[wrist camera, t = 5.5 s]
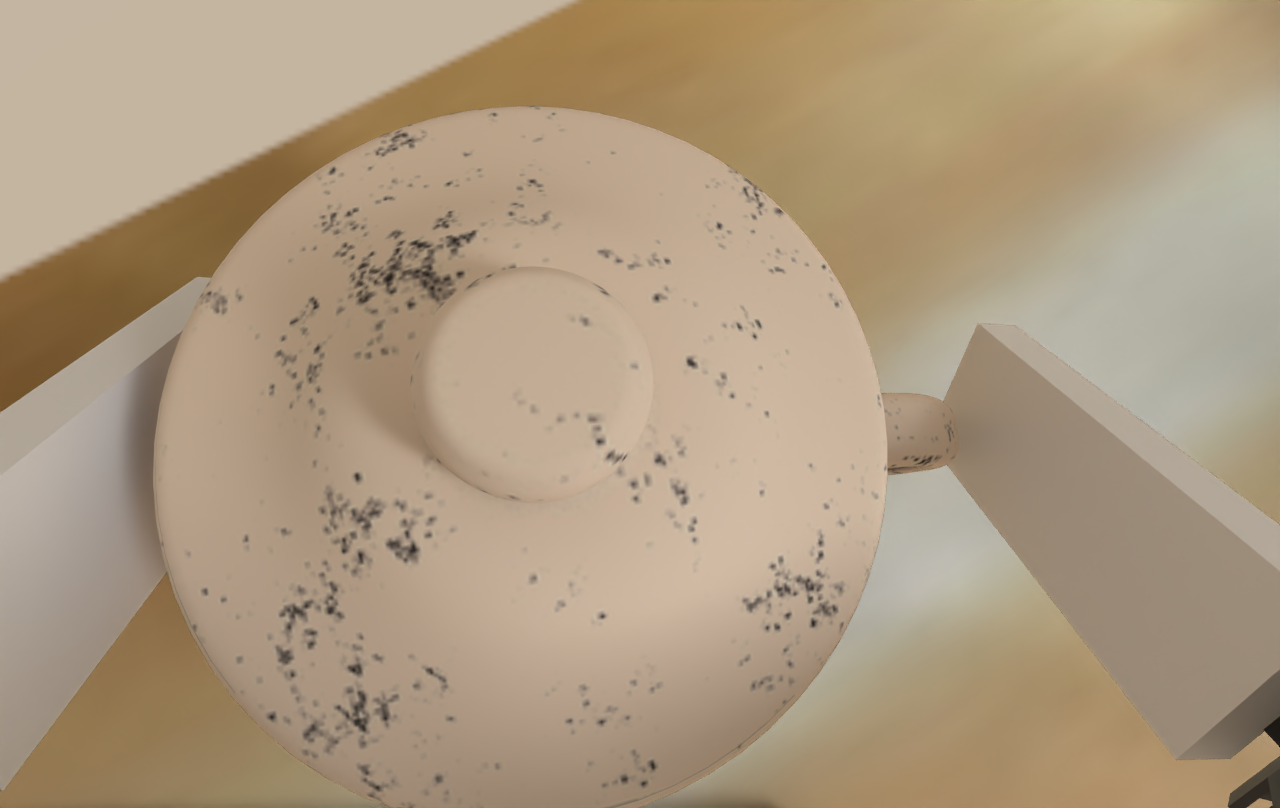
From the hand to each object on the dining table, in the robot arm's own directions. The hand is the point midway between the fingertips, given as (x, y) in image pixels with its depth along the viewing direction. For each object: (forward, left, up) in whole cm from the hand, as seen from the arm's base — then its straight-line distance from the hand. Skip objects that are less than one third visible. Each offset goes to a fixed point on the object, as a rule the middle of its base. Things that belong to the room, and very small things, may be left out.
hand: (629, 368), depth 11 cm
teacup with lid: (+2, 0, -6) cm, 6 cm away
